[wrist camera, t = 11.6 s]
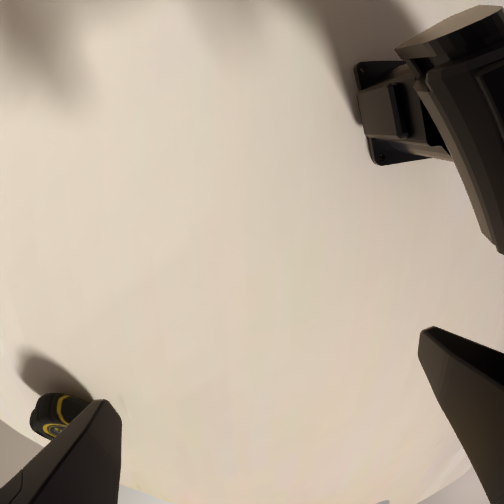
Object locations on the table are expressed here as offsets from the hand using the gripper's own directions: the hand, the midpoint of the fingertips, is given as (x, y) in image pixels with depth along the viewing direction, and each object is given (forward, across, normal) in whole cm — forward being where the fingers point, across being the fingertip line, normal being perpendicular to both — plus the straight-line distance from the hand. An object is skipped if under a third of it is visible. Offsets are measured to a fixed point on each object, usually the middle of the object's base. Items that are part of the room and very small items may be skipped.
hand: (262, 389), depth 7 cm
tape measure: (+12, +23, +12) cm, 29 cm away
